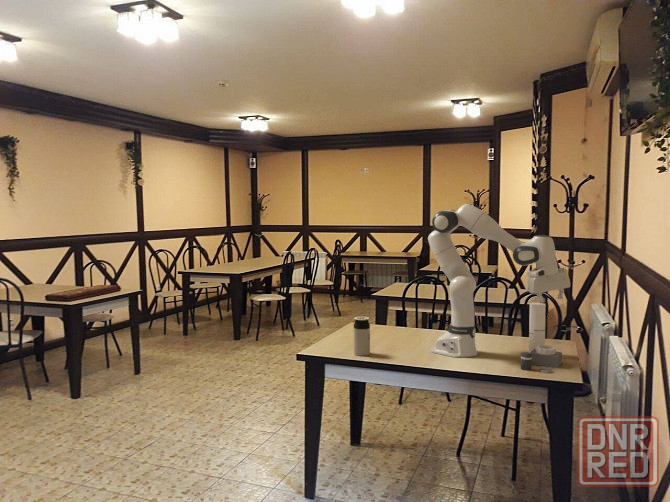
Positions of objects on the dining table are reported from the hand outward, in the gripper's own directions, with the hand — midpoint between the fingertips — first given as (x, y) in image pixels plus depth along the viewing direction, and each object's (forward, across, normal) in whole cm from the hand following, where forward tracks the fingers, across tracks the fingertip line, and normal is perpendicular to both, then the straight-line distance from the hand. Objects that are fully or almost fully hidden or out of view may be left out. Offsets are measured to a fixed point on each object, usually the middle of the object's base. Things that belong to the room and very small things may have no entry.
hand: (551, 300), depth 231 cm
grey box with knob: (+28, +5, -4) cm, 29 cm away
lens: (+27, +19, +1) cm, 33 cm away
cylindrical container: (+28, -1, -18) cm, 33 cm away
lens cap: (+29, +13, +6) cm, 32 cm away
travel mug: (+17, +79, -45) cm, 92 cm away
